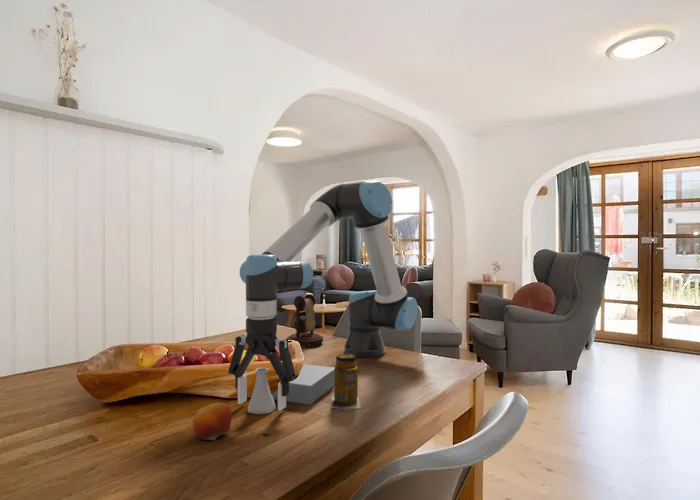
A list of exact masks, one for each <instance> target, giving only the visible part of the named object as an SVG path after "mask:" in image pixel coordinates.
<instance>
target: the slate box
mask: <svg viewBox="0 0 700 500" xmlns="http://www.w3.org/2000/svg"><path fill="white" fill-rule="evenodd" d="M302 364H303V367H302V369H301V371H300V374H299V376H298V377H297V378H296V379H295V380H293V381H291V382H289V394H288V395H287V396H286V402H291V403H296V404H297V403H298V404H304V405H310V406H311V405H312V404H313V403H315V402H316V401H317V400H318V399H320V398H321V397H322V396H324V395H325V394H326V393H327V392H328V391H330V390H331V389H332V388H334V386H335V385H334V384H335V374H334V373H335V366H334V367H333V366H332V367H331V366H323V365H314V364H306V363H302ZM272 397H273V399H274V400H276V401H278V390H277V391H276V392H275V393H274V394H272Z"/></svg>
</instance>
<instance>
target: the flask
mask: <svg viewBox="0 0 700 500" xmlns="http://www.w3.org/2000/svg"><path fill="white" fill-rule="evenodd" d="M254 372H255V374H256V379H255V384H254V387H253V390H252V394H251V397H250V400H249V403H248V406H247V413H249V414H255V415H262V414H263V415H264V414H270V413H272V412H273V411H275V410H276V409H277V405H276V402H275V399H273V397H272V394H271V391H270V384H269V382H268V372H269V368H267V367H258V368H255V371H254Z"/></svg>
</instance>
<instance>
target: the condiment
mask: <svg viewBox="0 0 700 500" xmlns="http://www.w3.org/2000/svg"><path fill="white" fill-rule="evenodd" d="M335 360H336V361H335V366H334V368H335V373H334V374H335V384H334V385H335V386H333V388H334V393H333V394H334V395H332V396H331V404H330V405H331V406H330V408H331V409H337V410H338V409H341V410H344V409H345V410H350V409H361V402H360V397H359V395H358V394H359V393H358V389H359V388H358V386H359V385H358V381H359V380H358V376H359V375H358V370H359V367H358V366H357V357H356V356H355V355H353V354H345V353H340V354H337V355H336V357H335Z"/></svg>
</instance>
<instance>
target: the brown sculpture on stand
mask: <svg viewBox="0 0 700 500" xmlns="http://www.w3.org/2000/svg"><path fill="white" fill-rule="evenodd" d="M293 305H294V307H295V314H294V317H295V319H296V320H295V322H294V325H293V326H294V329H295V331H296V333H292V334H290V335H289V336H287V337H286V339H287V340H295V341H298V342H299V343H300V346H302V345H303V346H305V347H306V348H307V349H308V348H309V346H310V345H315V344H319V343H320V344H322V343H323V342H324V336H322V335H320V333H316V332H315V328H316V317H315V305H316V299H315V296H314V295H313V294H311V293H308V294H306V295H305V296H304V297H303V296H302V295H298V296H296V297H295V298H294V301H293ZM301 317H305V318H304V319H301Z"/></svg>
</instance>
